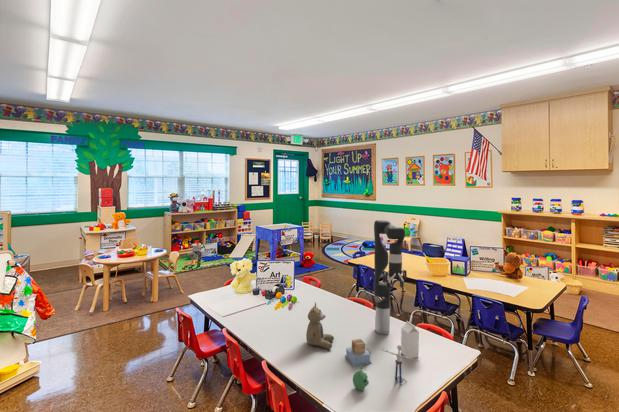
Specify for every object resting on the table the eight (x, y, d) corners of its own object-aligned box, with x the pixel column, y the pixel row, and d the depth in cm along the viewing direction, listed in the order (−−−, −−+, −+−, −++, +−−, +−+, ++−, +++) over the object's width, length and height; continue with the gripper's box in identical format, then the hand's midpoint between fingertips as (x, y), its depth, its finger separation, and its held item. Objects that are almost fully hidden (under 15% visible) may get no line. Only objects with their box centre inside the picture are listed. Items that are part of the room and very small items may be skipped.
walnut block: (351, 349, 180) (351, 340, 180) (360, 347, 182) (360, 338, 181) (355, 354, 175) (355, 344, 174) (364, 352, 176) (364, 343, 176)
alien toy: (367, 395, 148) (367, 374, 147) (351, 391, 151) (351, 371, 150) (369, 386, 154) (370, 366, 154) (354, 382, 157) (354, 363, 157)
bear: (330, 354, 184) (331, 312, 183) (303, 351, 188) (304, 310, 186) (334, 337, 205) (335, 300, 203) (310, 335, 208) (311, 297, 206)
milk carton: (407, 359, 179) (408, 326, 178) (400, 352, 186) (401, 321, 185) (418, 357, 181) (419, 325, 180) (411, 351, 188) (412, 319, 187)
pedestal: (344, 356, 182) (345, 347, 182) (362, 353, 185) (362, 344, 185) (353, 366, 171) (353, 357, 171) (371, 363, 175) (371, 354, 174)
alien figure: (421, 385, 155) (422, 347, 154) (418, 391, 150) (419, 352, 149) (382, 372, 166) (383, 336, 165) (378, 377, 162) (379, 340, 161)
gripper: (402, 258, 191) (401, 285, 192) (381, 260, 187) (380, 287, 188) (409, 261, 184) (409, 288, 185) (387, 263, 180) (387, 291, 181)
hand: (394, 288), depth 186 cm, fingers open, 8 cm apart
